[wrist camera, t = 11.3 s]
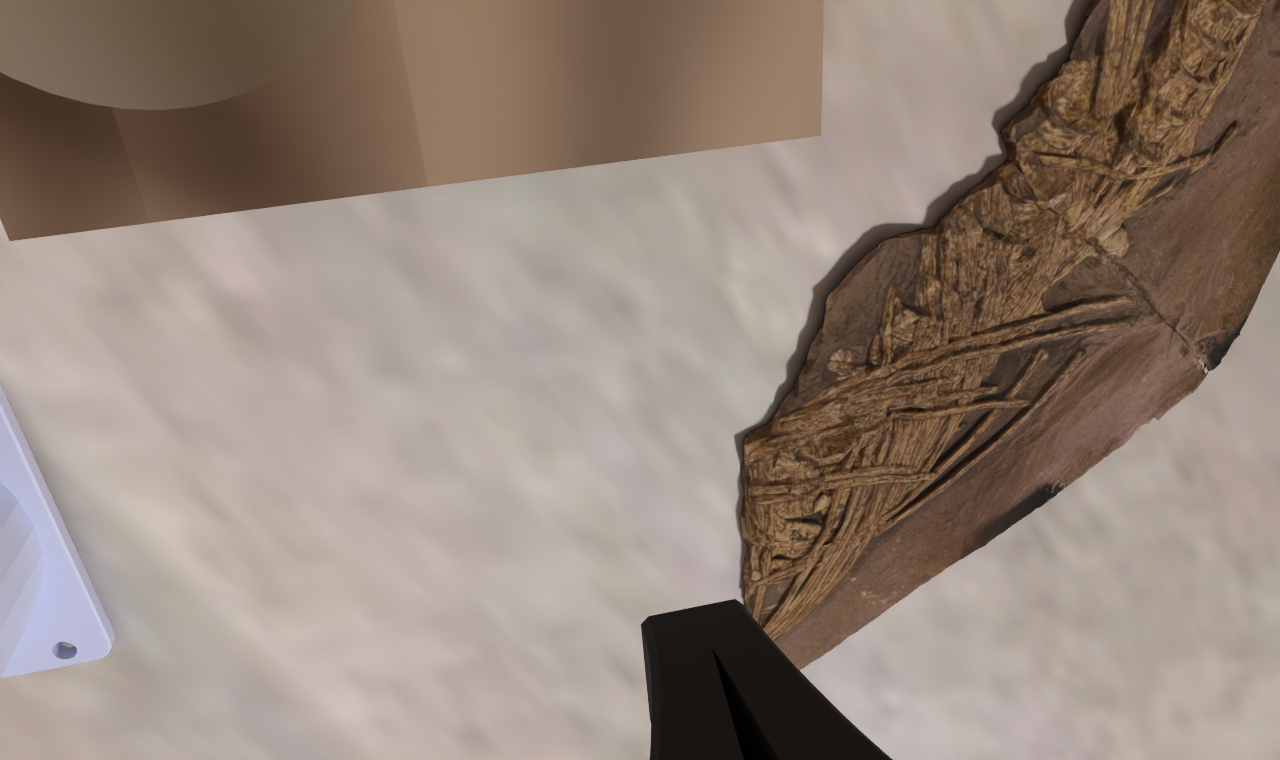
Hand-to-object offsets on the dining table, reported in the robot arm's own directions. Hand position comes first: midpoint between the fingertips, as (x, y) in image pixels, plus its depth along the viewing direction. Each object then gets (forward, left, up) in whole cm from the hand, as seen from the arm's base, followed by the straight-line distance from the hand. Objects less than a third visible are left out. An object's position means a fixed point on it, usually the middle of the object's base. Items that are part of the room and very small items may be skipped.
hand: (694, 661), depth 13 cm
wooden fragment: (+11, -2, -11) cm, 16 cm away
